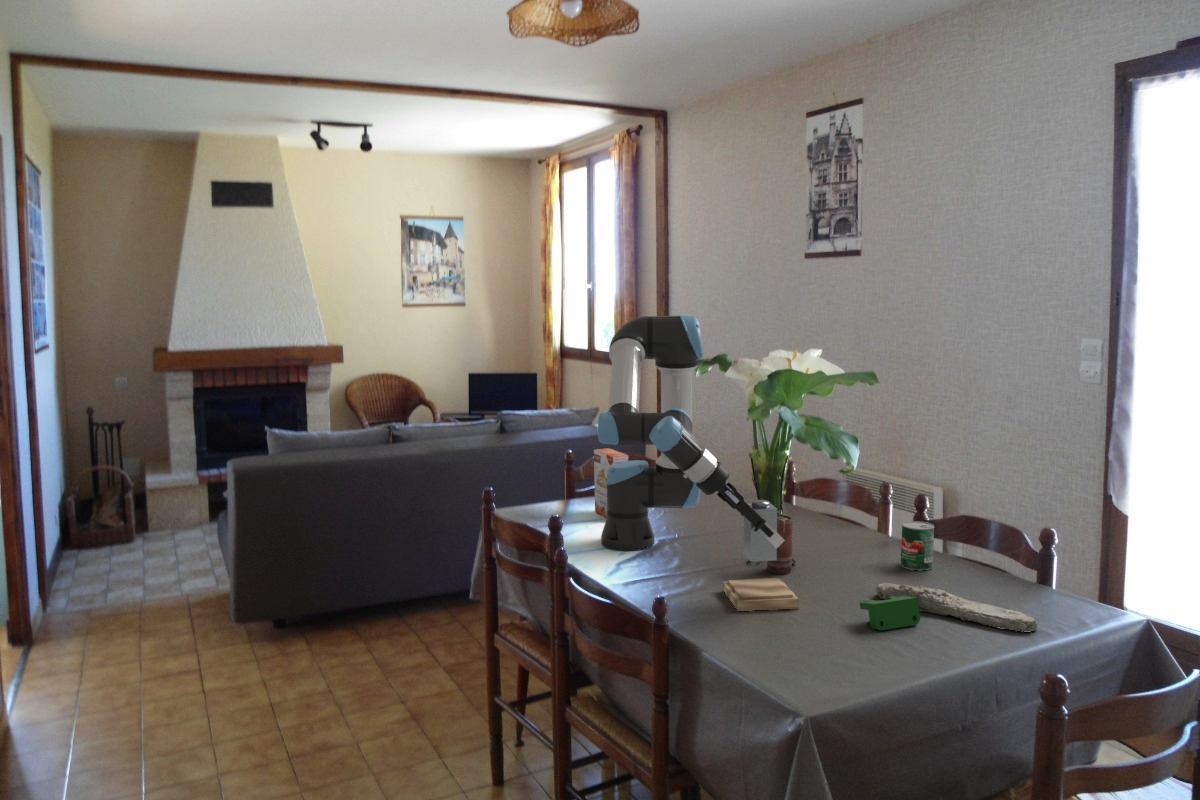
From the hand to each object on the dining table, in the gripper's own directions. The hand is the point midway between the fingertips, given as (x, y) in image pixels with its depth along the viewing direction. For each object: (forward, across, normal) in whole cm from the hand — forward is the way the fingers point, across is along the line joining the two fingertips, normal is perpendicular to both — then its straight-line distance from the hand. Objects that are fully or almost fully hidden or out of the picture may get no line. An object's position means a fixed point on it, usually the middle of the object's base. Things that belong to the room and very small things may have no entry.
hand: (775, 539), depth 206 cm
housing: (0, 0, -5) cm, 5 cm away
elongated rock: (+36, +13, +15) cm, 41 cm away
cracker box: (-10, -81, -30) cm, 87 cm away
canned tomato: (+41, -19, +21) cm, 50 cm away
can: (+15, -20, -5) cm, 26 cm away
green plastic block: (+24, +18, +4) cm, 30 cm away
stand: (+8, 0, -12) cm, 15 cm away
